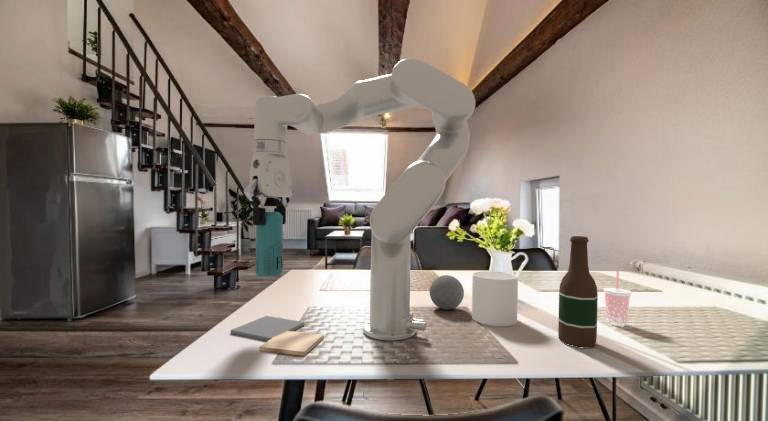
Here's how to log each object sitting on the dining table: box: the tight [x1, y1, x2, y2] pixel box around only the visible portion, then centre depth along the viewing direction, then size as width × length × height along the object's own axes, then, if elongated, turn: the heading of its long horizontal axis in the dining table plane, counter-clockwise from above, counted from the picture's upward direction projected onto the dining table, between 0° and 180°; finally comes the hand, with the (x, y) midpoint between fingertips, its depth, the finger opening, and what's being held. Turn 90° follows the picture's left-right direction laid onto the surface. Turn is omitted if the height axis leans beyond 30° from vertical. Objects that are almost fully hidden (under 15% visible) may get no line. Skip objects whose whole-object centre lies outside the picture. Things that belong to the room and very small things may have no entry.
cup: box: [471, 271, 519, 328], centre depth 96 cm, size 12×12×12 cm
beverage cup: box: [603, 270, 632, 325], centre depth 94 cm, size 6×6×14 cm
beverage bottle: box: [254, 197, 284, 278], centre depth 86 cm, size 6×7×20 cm
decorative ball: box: [429, 274, 465, 311], centre depth 105 cm, size 10×10×10 cm
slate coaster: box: [230, 315, 305, 342], centre depth 86 cm, size 12×12×1 cm
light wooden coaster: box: [259, 330, 325, 357], centre depth 77 cm, size 10×10×1 cm
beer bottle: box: [558, 235, 599, 348], centre depth 80 cm, size 8×8×24 cm
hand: (269, 223), depth 86 cm, fingers closed on beverage bottle, 6 cm apart
